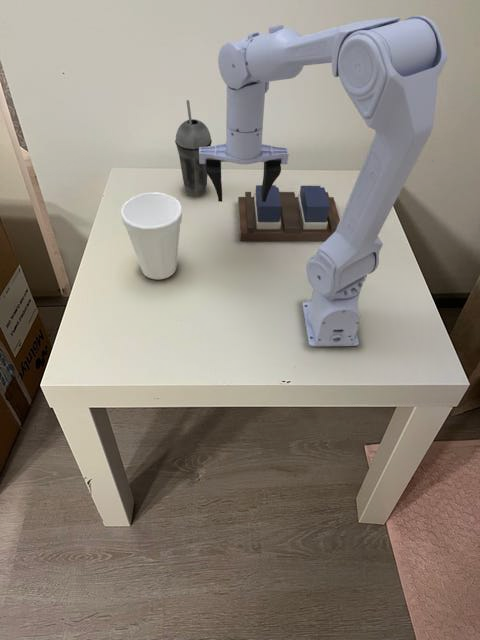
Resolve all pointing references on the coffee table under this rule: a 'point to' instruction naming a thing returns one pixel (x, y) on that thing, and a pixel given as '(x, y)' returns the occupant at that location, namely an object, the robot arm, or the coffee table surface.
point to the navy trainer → (267, 209)
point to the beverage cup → (192, 154)
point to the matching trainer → (313, 207)
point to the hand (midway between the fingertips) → (241, 198)
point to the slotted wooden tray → (284, 221)
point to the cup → (154, 231)
